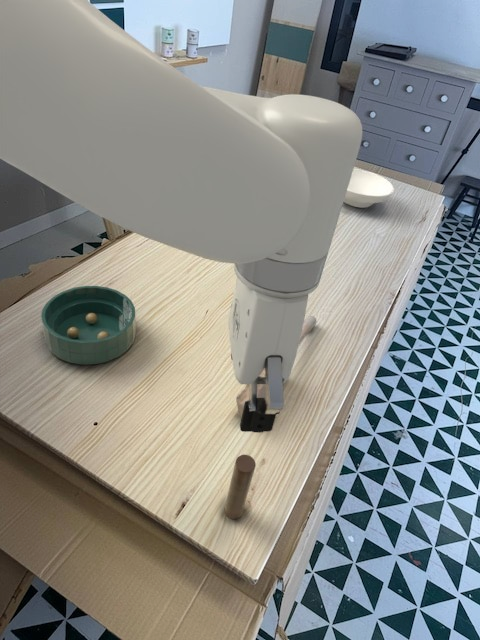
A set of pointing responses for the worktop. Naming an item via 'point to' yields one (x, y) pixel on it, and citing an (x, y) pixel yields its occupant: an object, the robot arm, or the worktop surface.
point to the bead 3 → (103, 335)
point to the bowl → (367, 189)
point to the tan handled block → (261, 388)
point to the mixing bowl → (72, 312)
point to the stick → (239, 486)
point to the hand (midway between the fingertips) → (249, 391)
